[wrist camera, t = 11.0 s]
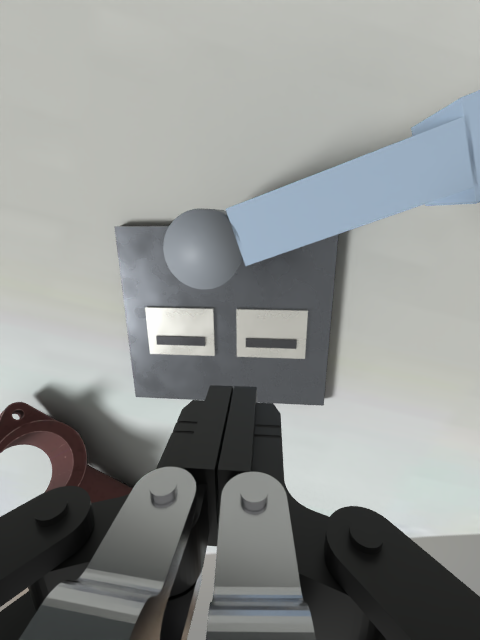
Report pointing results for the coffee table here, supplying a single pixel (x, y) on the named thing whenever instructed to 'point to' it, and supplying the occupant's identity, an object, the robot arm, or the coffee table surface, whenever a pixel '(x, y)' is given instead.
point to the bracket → (57, 451)
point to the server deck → (228, 323)
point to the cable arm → (333, 199)
